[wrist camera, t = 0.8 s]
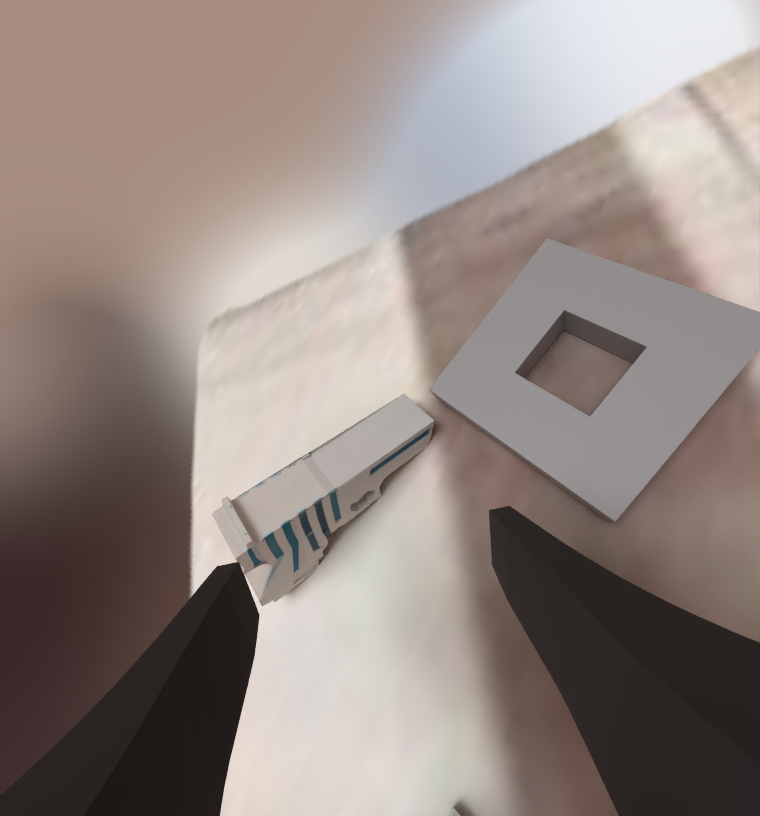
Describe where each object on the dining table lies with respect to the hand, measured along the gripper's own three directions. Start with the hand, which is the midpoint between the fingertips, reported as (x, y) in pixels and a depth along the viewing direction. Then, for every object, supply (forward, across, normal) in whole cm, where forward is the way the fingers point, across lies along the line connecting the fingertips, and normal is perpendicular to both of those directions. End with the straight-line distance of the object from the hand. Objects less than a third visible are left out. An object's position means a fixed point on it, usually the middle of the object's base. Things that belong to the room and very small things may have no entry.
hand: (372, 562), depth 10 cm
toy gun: (+14, +1, +8) cm, 16 cm away
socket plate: (+12, -14, 0) cm, 18 cm away
